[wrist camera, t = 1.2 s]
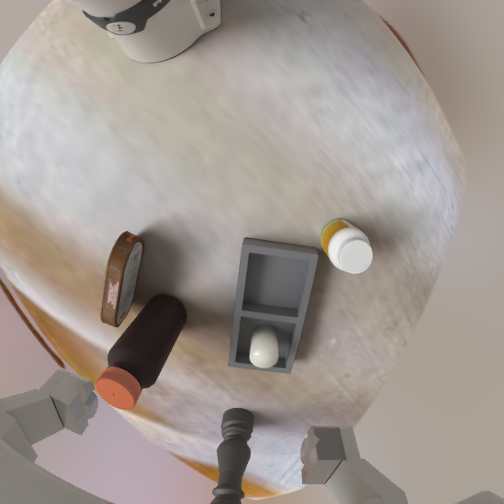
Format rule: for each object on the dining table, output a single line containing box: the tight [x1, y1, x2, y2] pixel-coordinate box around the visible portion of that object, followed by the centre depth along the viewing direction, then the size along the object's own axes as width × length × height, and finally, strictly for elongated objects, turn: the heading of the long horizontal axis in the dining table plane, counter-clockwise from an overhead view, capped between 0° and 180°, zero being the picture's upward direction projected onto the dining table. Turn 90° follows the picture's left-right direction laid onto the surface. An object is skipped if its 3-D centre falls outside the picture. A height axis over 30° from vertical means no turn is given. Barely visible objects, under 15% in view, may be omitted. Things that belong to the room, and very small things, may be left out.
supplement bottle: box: [320, 219, 373, 274], centre depth 35 cm, size 5×5×10 cm
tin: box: [100, 231, 144, 327], centre depth 39 cm, size 15×3×8 cm, turn 160°
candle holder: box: [211, 408, 253, 504], centre depth 39 cm, size 6×6×25 cm
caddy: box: [228, 238, 319, 373], centre depth 41 cm, size 20×10×4 cm, turn 173°
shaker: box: [250, 324, 278, 368], centre depth 41 cm, size 4×4×6 cm
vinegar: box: [96, 295, 187, 410], centre depth 35 cm, size 7×7×20 cm
